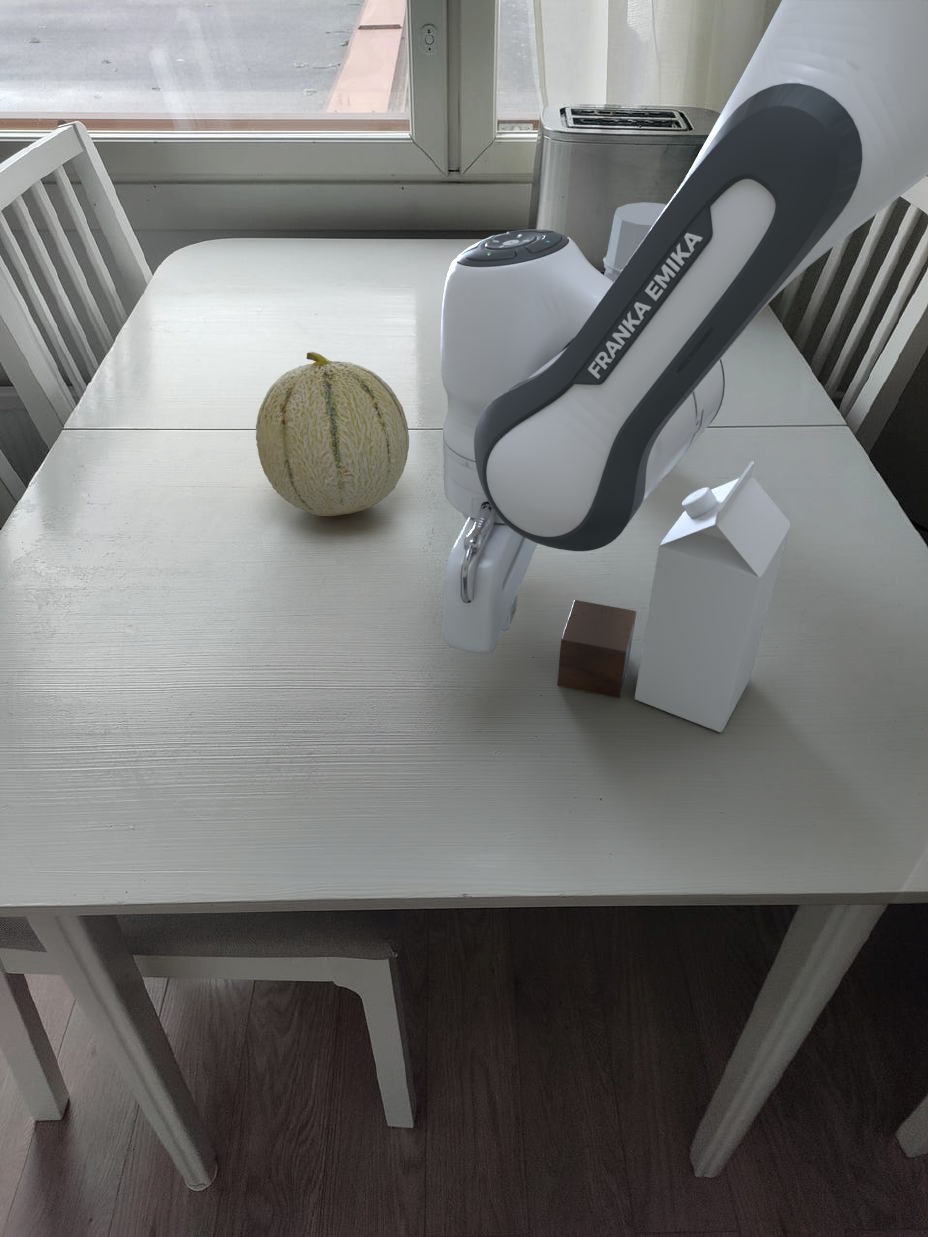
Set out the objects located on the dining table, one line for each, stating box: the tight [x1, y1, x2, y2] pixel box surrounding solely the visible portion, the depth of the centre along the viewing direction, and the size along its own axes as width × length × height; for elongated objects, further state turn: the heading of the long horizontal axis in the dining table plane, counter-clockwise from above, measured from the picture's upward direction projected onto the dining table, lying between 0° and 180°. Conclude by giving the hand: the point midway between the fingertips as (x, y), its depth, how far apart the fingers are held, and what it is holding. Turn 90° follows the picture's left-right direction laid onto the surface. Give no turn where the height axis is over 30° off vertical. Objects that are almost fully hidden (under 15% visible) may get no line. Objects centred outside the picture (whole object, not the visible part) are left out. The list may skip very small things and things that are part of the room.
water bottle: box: [602, 201, 668, 282], centre depth 95 cm, size 9×8×25 cm
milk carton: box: [634, 460, 792, 733], centre depth 69 cm, size 7×7×19 cm
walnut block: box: [556, 599, 637, 699], centre depth 76 cm, size 5×5×5 cm
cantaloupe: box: [255, 351, 410, 517], centre depth 91 cm, size 15×15×15 cm
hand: (502, 618), depth 77 cm, fingers closed
